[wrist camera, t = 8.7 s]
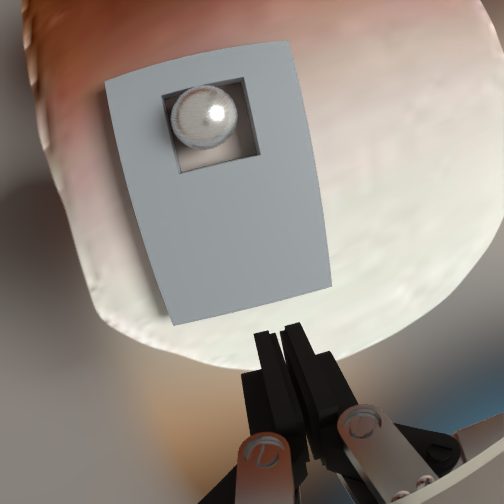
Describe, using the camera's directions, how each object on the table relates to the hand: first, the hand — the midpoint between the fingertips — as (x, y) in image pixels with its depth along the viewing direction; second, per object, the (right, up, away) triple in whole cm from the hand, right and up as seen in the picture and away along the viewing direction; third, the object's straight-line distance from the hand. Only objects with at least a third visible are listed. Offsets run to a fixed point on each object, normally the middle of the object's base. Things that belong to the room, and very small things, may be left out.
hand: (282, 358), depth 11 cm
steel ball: (-5, +14, +10) cm, 18 cm away
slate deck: (-3, +10, +15) cm, 18 cm away
